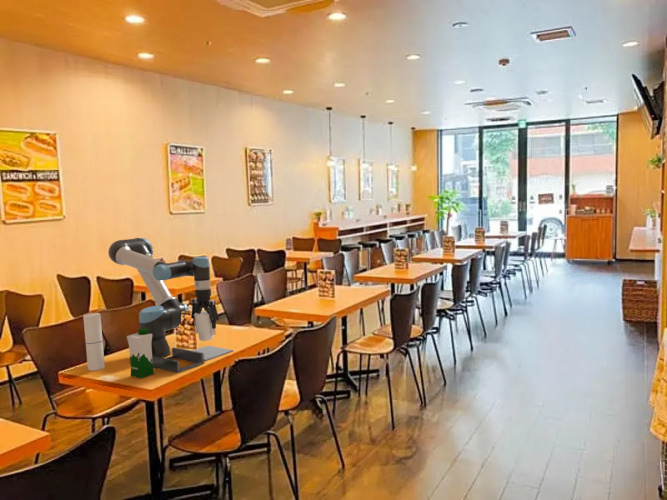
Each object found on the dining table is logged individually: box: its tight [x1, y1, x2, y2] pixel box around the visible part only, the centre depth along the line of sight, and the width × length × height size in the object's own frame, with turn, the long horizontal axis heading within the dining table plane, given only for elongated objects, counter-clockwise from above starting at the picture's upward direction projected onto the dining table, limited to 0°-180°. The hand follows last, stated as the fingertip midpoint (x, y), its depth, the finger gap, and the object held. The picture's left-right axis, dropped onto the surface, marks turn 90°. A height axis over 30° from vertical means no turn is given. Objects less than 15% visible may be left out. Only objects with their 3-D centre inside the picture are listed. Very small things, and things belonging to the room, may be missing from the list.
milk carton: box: [126, 328, 155, 379], centre depth 249 cm, size 9×9×20 cm
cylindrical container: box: [82, 312, 106, 372], centre depth 261 cm, size 7×7×25 cm
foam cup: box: [194, 310, 214, 342], centre depth 278 cm, size 10×9×13 cm
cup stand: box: [152, 347, 205, 374], centre depth 262 cm, size 20×15×5 cm
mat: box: [192, 345, 234, 362], centre depth 280 cm, size 18×18×1 cm
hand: (205, 333), depth 279 cm, fingers closed on foam cup, 9 cm apart
